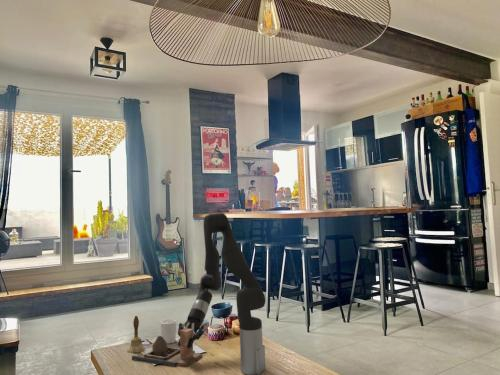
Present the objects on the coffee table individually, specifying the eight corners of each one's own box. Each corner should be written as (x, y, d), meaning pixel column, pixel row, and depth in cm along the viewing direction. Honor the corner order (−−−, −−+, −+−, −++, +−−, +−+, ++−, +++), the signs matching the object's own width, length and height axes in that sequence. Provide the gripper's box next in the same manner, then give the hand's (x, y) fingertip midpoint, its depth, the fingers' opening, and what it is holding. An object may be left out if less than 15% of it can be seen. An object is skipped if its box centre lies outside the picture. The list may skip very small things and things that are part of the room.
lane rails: (194, 354, 175) (194, 350, 175) (175, 366, 161) (174, 362, 161) (153, 348, 185) (153, 345, 185) (131, 359, 172) (131, 356, 172)
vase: (164, 359, 170) (163, 339, 171) (150, 358, 171) (149, 339, 172) (170, 353, 177) (169, 334, 177) (156, 353, 178) (156, 334, 179)
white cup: (158, 343, 192) (157, 323, 192) (165, 338, 199) (165, 319, 200) (171, 344, 189) (171, 324, 190) (179, 339, 197) (178, 319, 198)
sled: (202, 356, 171) (201, 326, 172) (186, 366, 161) (185, 334, 162) (161, 350, 181) (160, 322, 182) (144, 359, 171) (143, 329, 171)
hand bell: (133, 346, 189) (132, 313, 190) (148, 347, 187) (147, 314, 188) (123, 352, 181) (123, 318, 182) (139, 353, 179) (138, 319, 180)
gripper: (182, 306, 179) (166, 340, 167) (208, 308, 173) (193, 344, 161) (189, 314, 183) (174, 349, 172) (214, 317, 177) (201, 353, 165)
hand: (184, 346), depth 166 cm, fingers closed on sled, 4 cm apart
